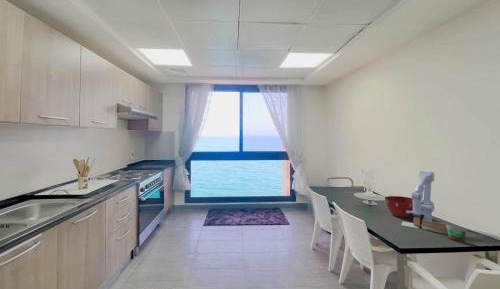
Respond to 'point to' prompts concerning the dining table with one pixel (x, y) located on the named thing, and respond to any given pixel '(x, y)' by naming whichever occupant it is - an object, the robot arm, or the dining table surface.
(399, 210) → the mixing bowl
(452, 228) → the food container
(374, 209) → the dining table surface
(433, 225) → the crate
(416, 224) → the block
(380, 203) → the dining table surface
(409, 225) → the mat
